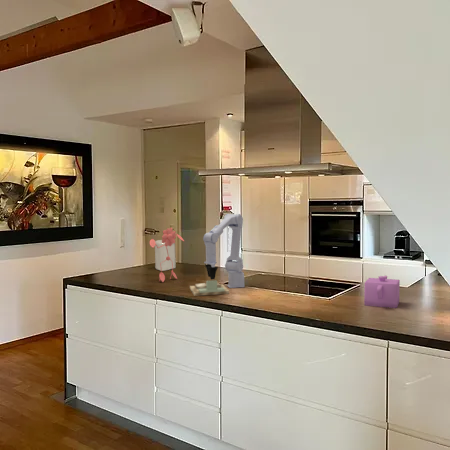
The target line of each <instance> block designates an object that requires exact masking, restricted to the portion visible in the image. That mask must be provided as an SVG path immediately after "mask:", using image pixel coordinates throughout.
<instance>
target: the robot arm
mask: <svg viewBox="0 0 450 450" xmlns="http://www.w3.org/2000/svg"><path fill="white" fill-rule="evenodd" d="M243 222H244V218H243V216H242V214H240V213H236V214H235V213H225V215H224V216H223V220H221V222H220V224H217V225H214V227H213V228H212V229H211V230H210V231H209V232H205V234H204V235H203V237H202V240H203V242H204V246H205V261H203V263H204V267H205V268H206V271H207V276H208V277H209V278H210V280H215V278H216V274H217V271H218V269H219V267H218V266H216V264H217V242H218V240H219V239H220V238H219V237H221V235H222V234H223V233H224V230H225V229H226V228H227V227H228V228H230V229H231V231H232V234H231V245H230V255H229V256H228V257H226V262H225V264H224V265H225V266H224V268H225V270H226V272H227V274H228V278H227V279H228V284H226V287H228V289H233V288H234V289H235V288H245V286H246V285H245V273H244V272H243V269H244V264H243V263H244V260H243V259H242V257H240V247H241V237H242V228H243V225H244V223H243Z"/></svg>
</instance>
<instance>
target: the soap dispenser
mask: <svg viewBox="0 0 450 450" xmlns="http://www.w3.org/2000/svg"><path fill="white" fill-rule="evenodd" d="M155 242H156V245H157V246H158V247H160V246H162V245H164V244H165V243H162V239H157V240H155ZM156 245H155V246H154V264H155V265H154V267H155V270H158V271H161V269H162V272H164V271H168V270H172V262H173V270H174V269H176V265H177V264H176V262H177V261H176V260H177V259H176V242H175V243H174V244H172V245H171V246H169V245H168V246H167V249H168V253H167V249H166V246H165V245H164V246H162V247H160V248H157V246H156ZM168 255H169V257H170V259H171V260H172V261H171V260H169V261H168V260H166V257H168ZM165 260H166V261H165ZM163 261H164V262H163ZM161 262H162V263H161ZM160 263H161V266H160Z"/></svg>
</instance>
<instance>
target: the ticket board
mask: <svg viewBox="0 0 450 450" xmlns="http://www.w3.org/2000/svg"><path fill="white" fill-rule="evenodd" d="M222 287H223V288H224V289H225V291H222V292H206V293H200V292H199V289H205V288H206V282H203V283H194V285H189V289H190V292H191V293H192V295H193V296H194V297H196V296H197V297H198V296H200V297H201V296H210V295H211V296H214V295H226V294H227V295H229V294H230V290H229V288H227V286H225V285H224V284H223V283H221V284H220V283H219V282H217V288H222Z"/></svg>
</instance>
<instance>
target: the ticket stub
mask: <svg viewBox="0 0 450 450" xmlns="http://www.w3.org/2000/svg"><path fill="white" fill-rule="evenodd" d="M205 283H206V288H205V289H199V292H200V293H206V292H222V291H225V289H224V288H223V287H222V288H217V283H218V279H216V280H215V279H211V280H206V282H205Z"/></svg>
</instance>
